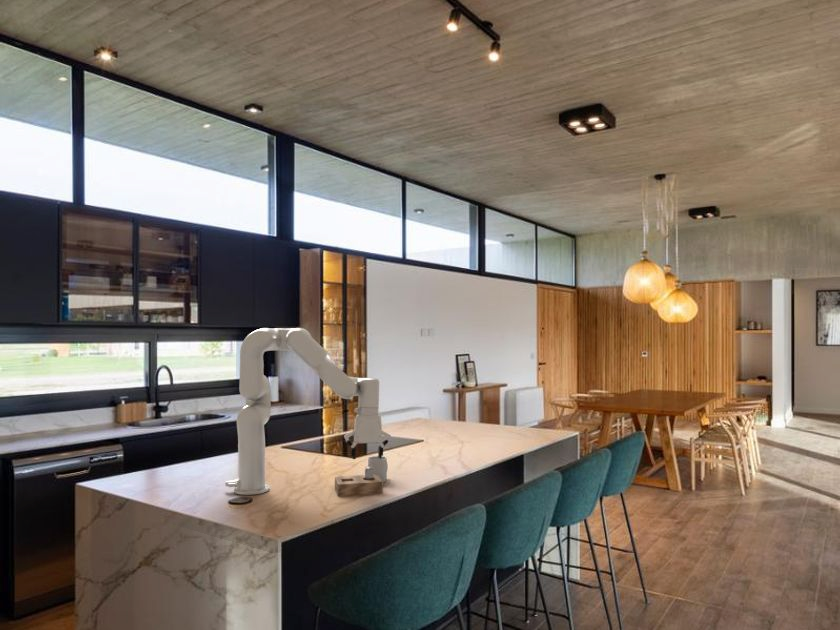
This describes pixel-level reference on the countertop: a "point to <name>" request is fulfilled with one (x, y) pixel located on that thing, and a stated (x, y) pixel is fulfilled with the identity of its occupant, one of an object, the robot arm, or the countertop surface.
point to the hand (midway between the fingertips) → (366, 458)
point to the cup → (379, 466)
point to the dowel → (369, 473)
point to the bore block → (358, 485)
